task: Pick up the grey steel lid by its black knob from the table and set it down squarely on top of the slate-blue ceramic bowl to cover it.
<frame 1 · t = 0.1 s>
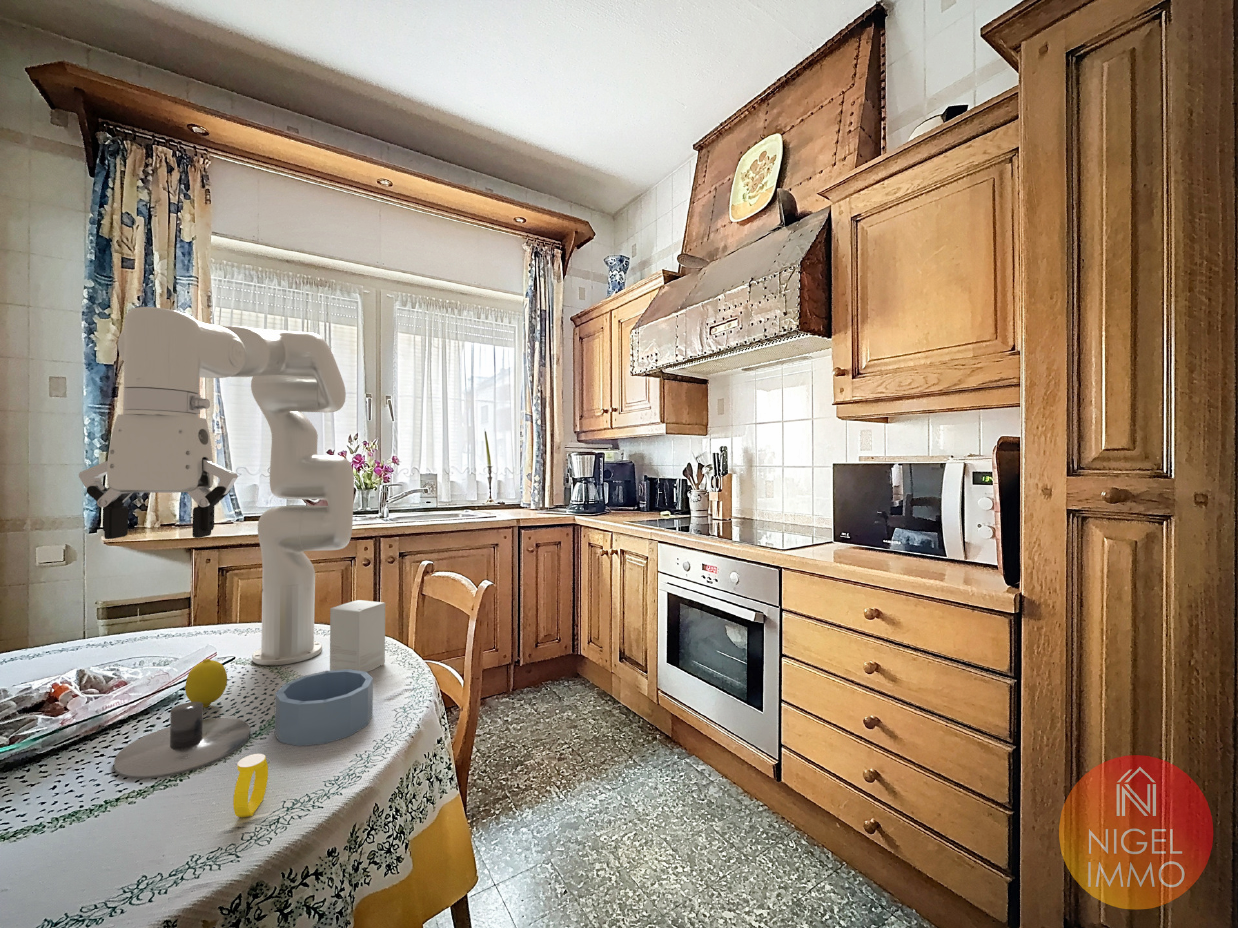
hand: (159, 537, 70), 31 cm above the table, tool pointing down, fingers open, 9 cm apart
supplement box: (357, 668, 108), on the table
lid: (186, 750, 77), on the table
bowl: (325, 723, 84), on the table
watch: (251, 810, 64), on the table
lemon: (206, 708, 90), on the table
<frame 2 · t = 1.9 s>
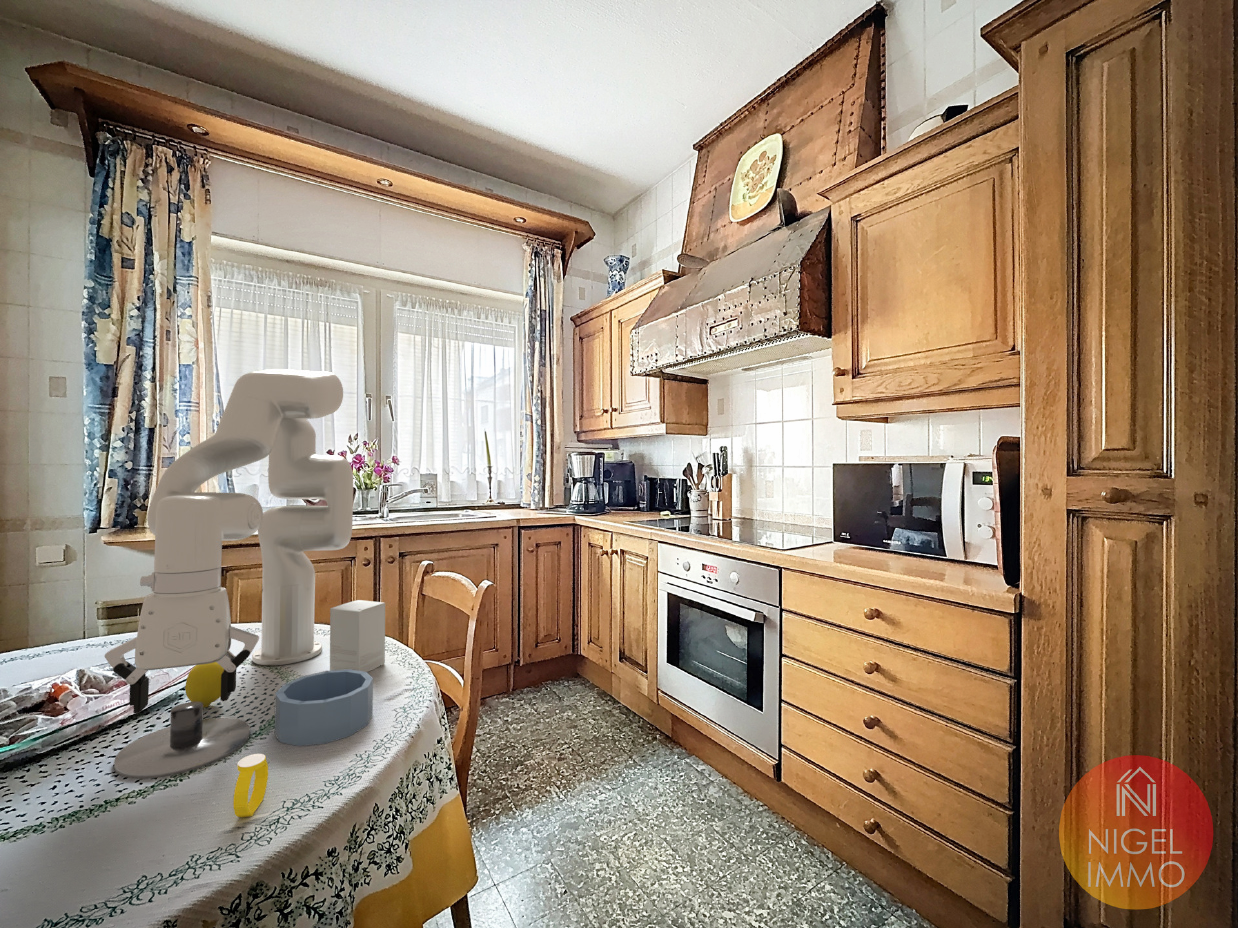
hand: (184, 703, 76), 7 cm above the table, tool pointing down, fingers open, 9 cm apart
nothing on the table moved.
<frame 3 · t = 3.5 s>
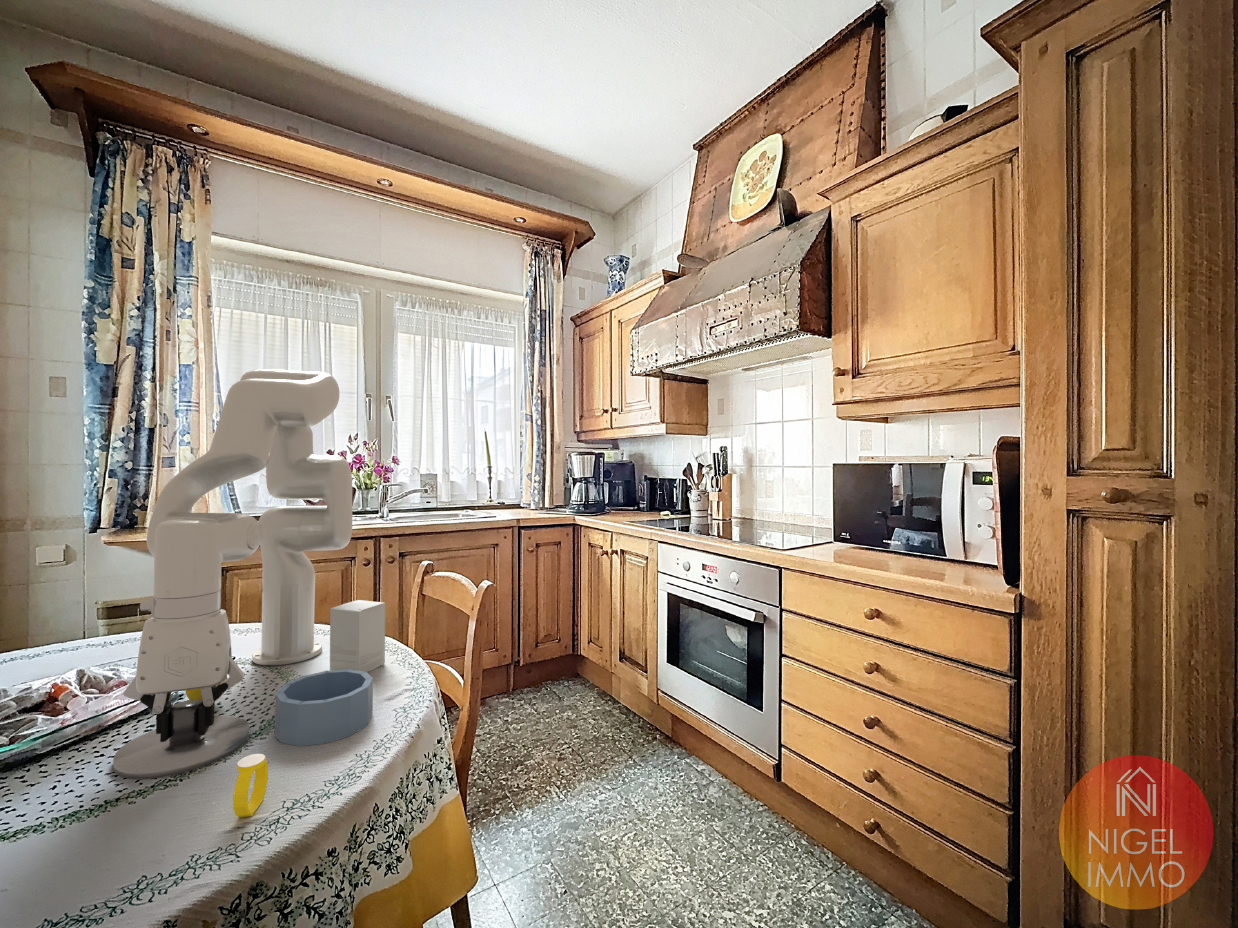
hand: (185, 732, 77), 2 cm above the table, tool pointing down, fingers closed on lid, 3 cm apart
lid: (185, 748, 77), on the table, touching gripper
everything else where it was.
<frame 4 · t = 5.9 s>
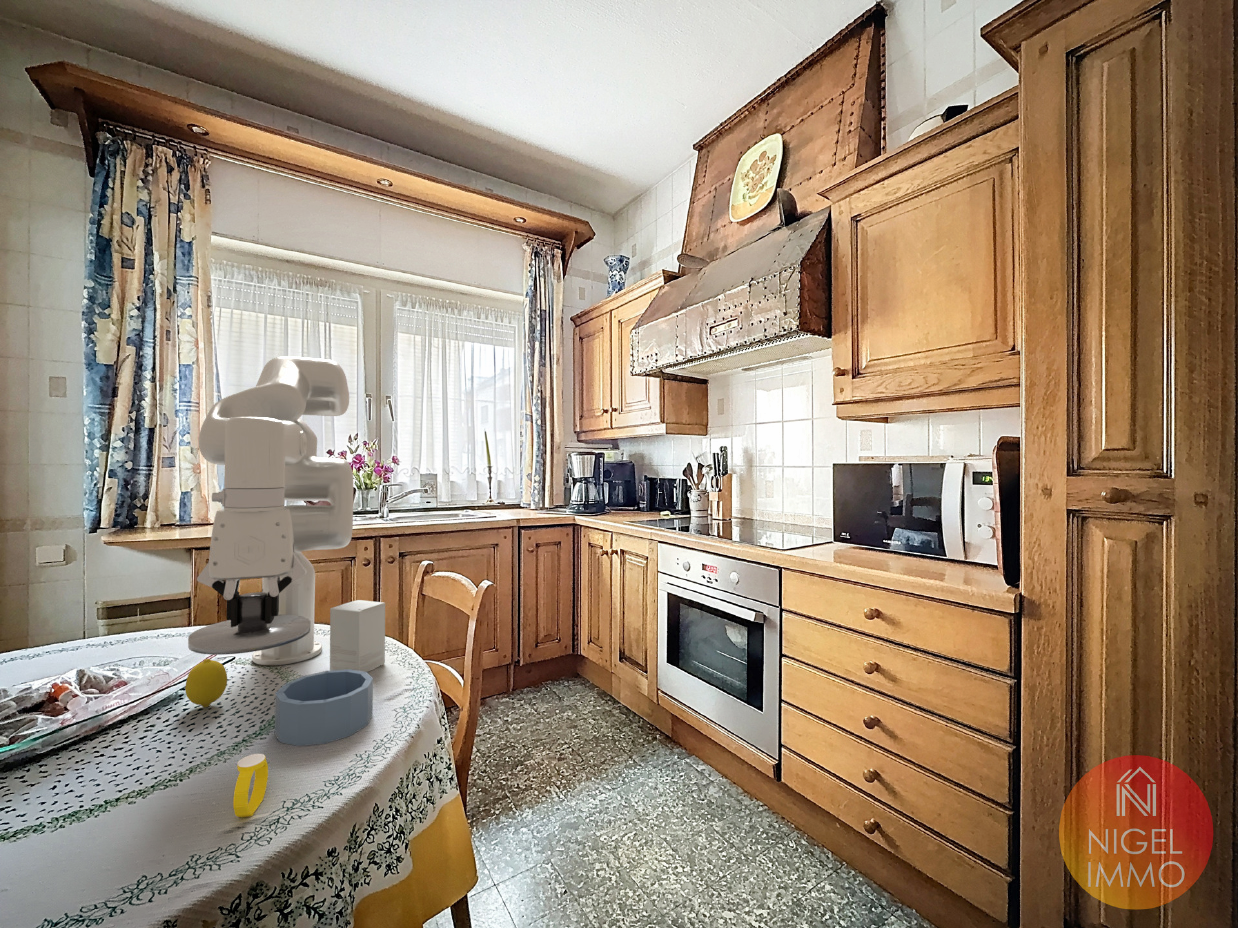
hand: (253, 621, 80), 17 cm above the table, tool pointing down, fingers closed on lid, 3 cm apart
lid: (252, 636, 80), point 15 cm above the table, touching gripper
everything else where it was.
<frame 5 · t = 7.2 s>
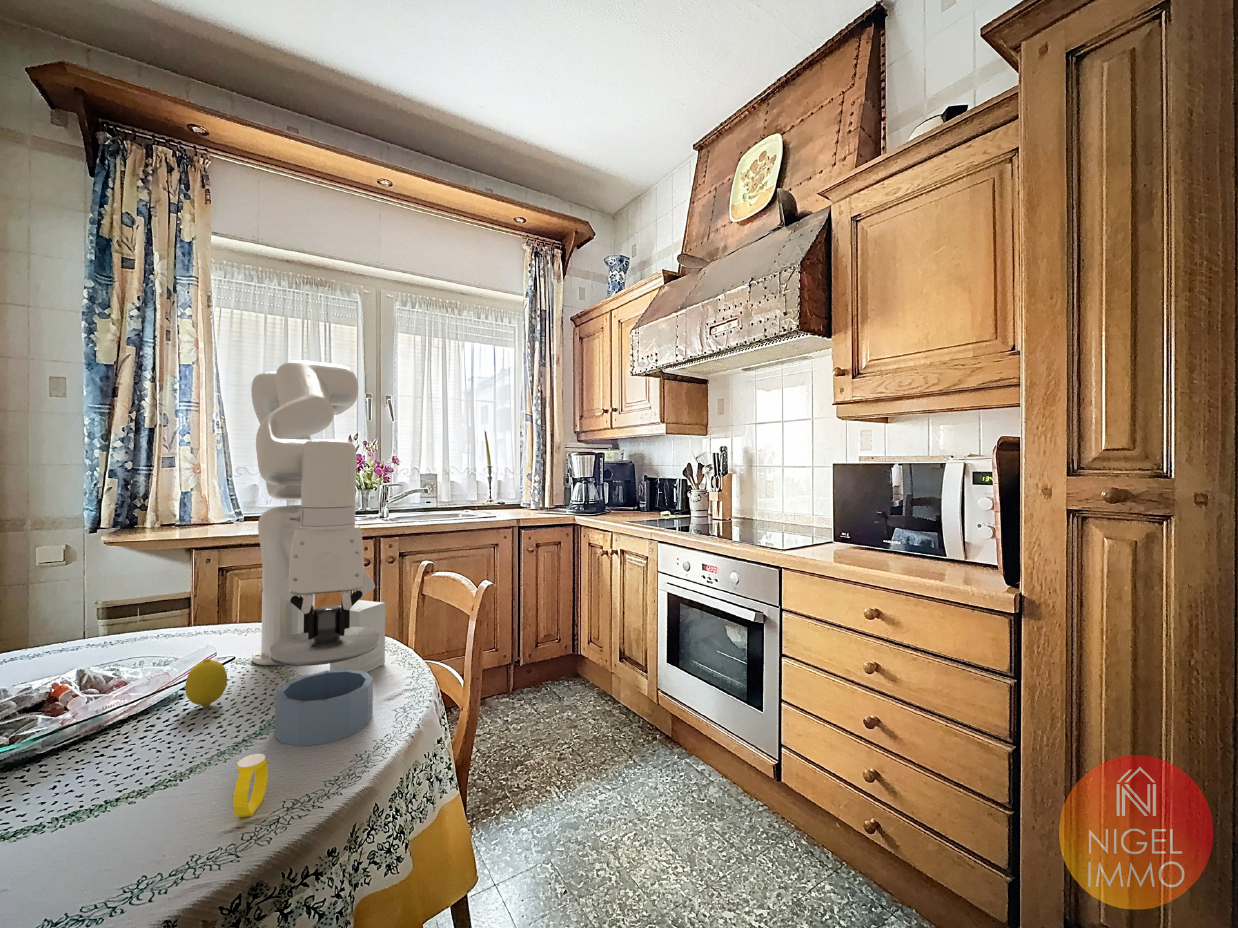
hand: (327, 634, 84), 14 cm above the table, tool pointing down, fingers closed on lid, 3 cm apart
lid: (326, 648, 84), point 12 cm above the table, touching gripper
everything else where it was.
when the fingers open (9 cm above the table, at t = 8.2 s): lid drops 1 cm, resting on bowl.
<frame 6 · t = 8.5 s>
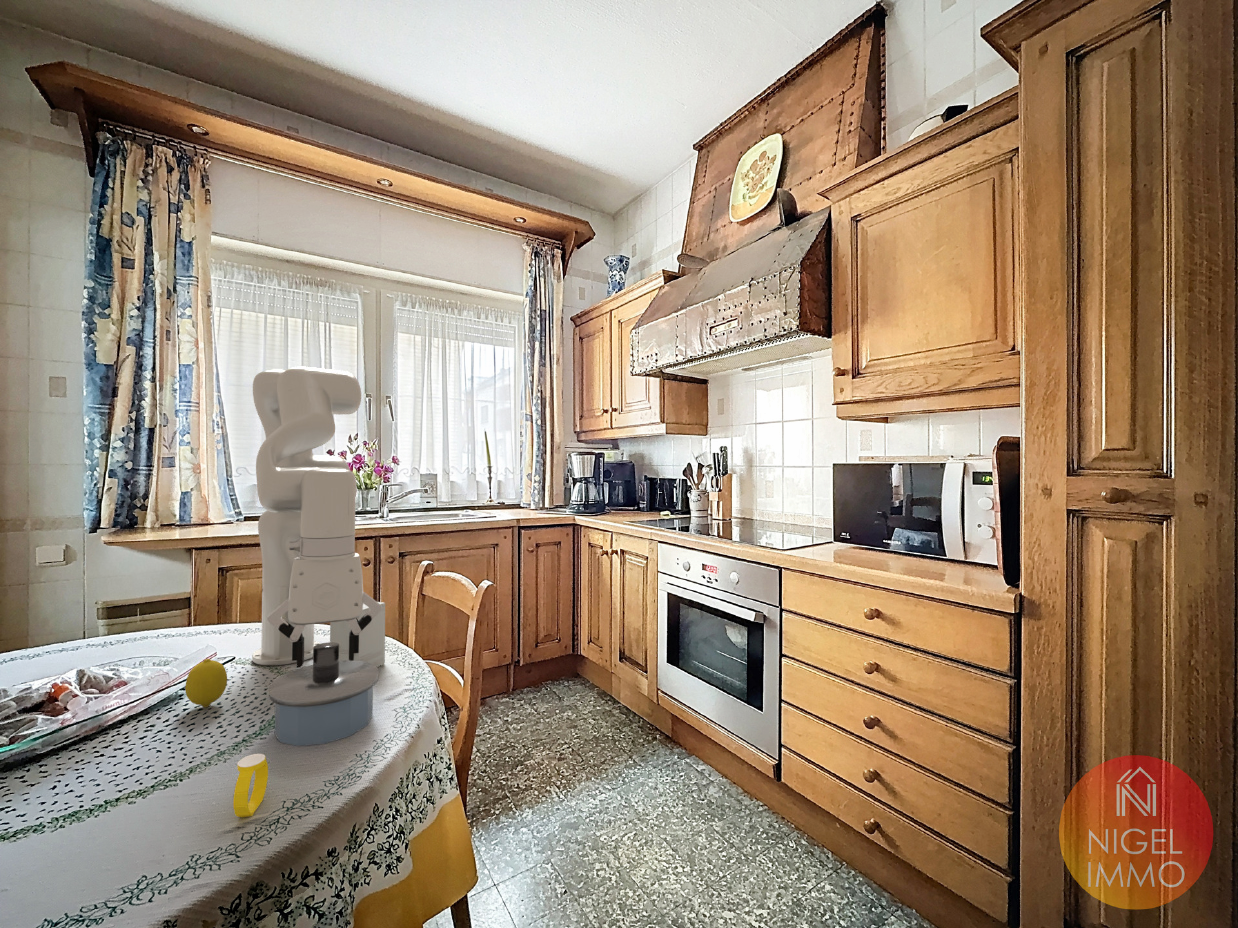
hand: (326, 660, 84), 10 cm above the table, tool pointing down, fingers open, 6 cm apart
lid: (325, 685, 84), point 6 cm above the table, touching bowl
everything else where it was.
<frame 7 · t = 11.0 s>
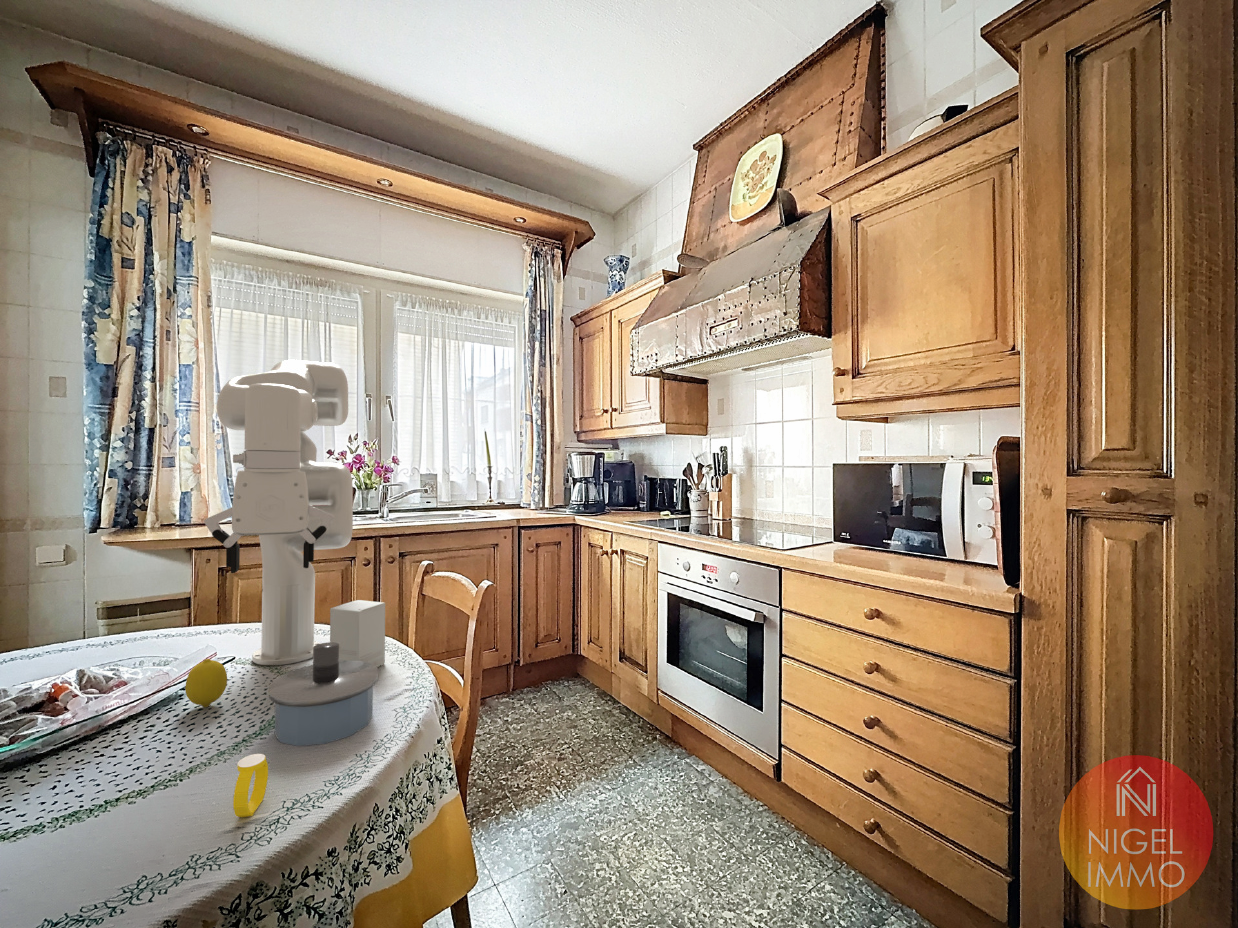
hand: (271, 568, 86), 24 cm above the table, tool pointing down, fingers open, 9 cm apart
nothing on the table moved.
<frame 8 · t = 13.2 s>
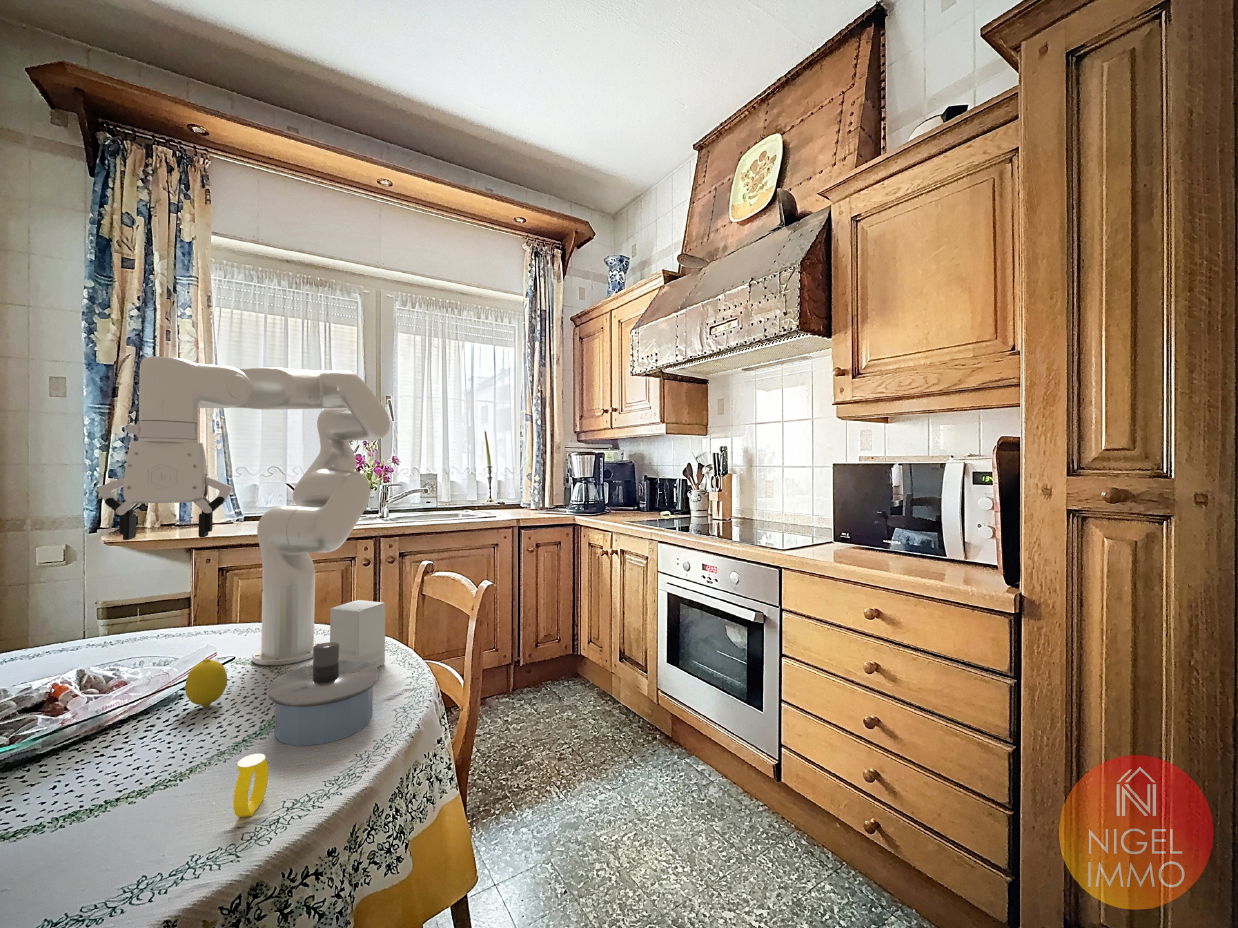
hand: (167, 537, 88), 28 cm above the table, tool pointing down, fingers open, 9 cm apart
nothing on the table moved.
at the end: lid 0.0 cm off-centre on the bowl, point 6.0 cm above the bowl's base; lid tilted 0°; the gripper is holding nothing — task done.
